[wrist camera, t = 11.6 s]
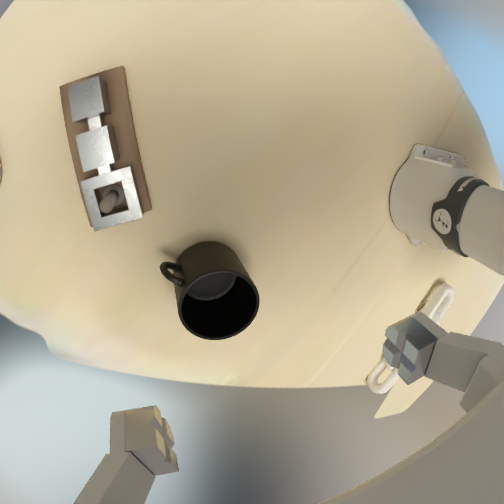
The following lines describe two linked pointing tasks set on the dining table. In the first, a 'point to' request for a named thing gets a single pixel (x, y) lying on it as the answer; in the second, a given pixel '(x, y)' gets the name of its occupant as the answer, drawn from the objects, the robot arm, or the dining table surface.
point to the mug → (212, 291)
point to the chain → (432, 309)
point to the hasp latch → (101, 154)
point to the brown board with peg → (125, 139)
